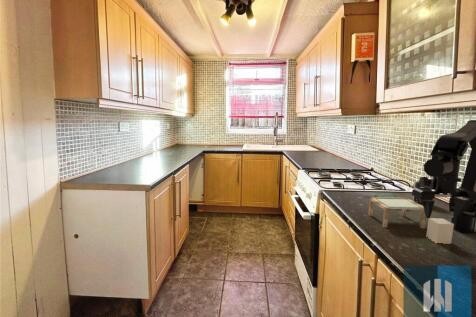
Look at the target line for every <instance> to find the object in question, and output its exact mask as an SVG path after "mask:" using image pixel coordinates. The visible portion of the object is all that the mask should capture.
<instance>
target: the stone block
mask: <svg viewBox="0 0 476 317" xmlns="http://www.w3.org/2000/svg"><path fill="white" fill-rule="evenodd" d="M453 227H454V224H453V223H451V221H450V220H447V219H445V218H435V217H434V218H433V217H430V218H429V219H427V228H426V229H427V230H426V235H425V237H426V238H427V237H428V238H427V239H429V240H430V239H431V240H430V241H432V242H433V241H434V242H435V244H437V243H443V244H444V245H447V244H448V245H450V244H452V238H453V233H454V228H453ZM434 242H433V243H434ZM443 244H442V245H443Z"/></svg>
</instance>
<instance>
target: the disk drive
mask: <svg viewBox="0 0 476 317" xmlns="http://www.w3.org/2000/svg"><path fill="white" fill-rule="evenodd" d="M373 197H394V198H399V196H396V195H389V194H375V195H374V196H373Z"/></svg>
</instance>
